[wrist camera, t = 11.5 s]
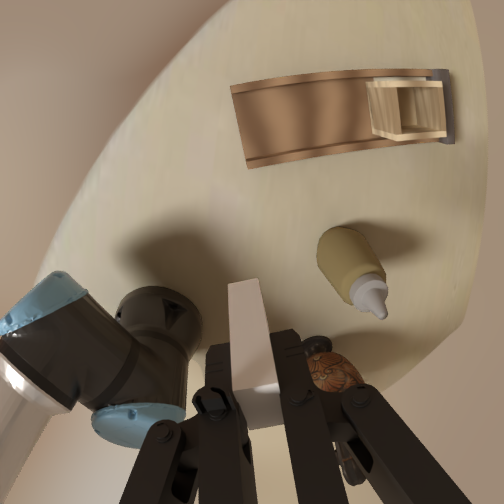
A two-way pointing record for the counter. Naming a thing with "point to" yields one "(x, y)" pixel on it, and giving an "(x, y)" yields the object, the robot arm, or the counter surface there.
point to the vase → (334, 380)
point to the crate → (407, 109)
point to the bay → (320, 114)
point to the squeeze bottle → (353, 270)
